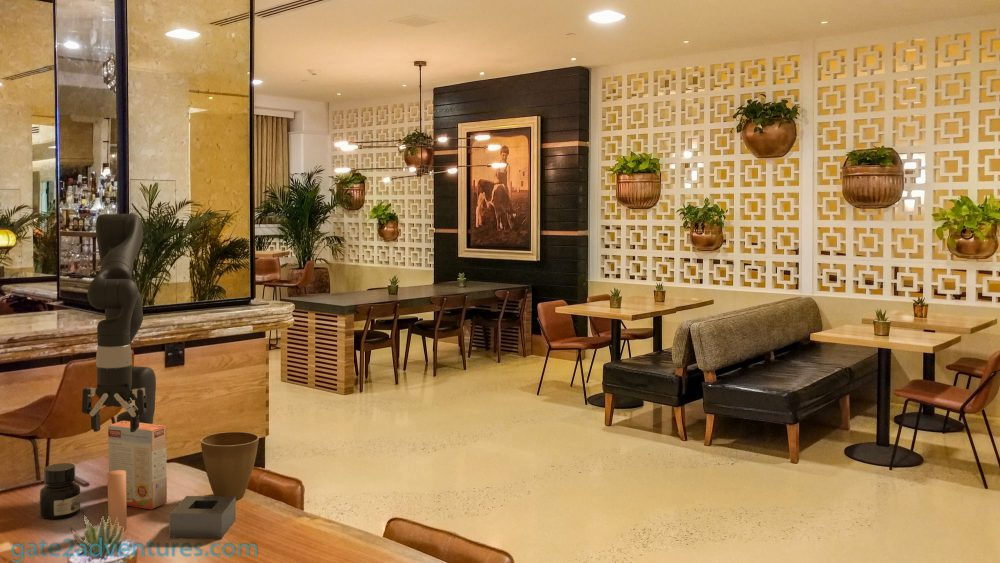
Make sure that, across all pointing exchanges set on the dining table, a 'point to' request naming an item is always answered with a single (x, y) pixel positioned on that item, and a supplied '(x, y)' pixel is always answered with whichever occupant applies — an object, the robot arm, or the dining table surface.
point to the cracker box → (140, 462)
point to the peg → (117, 497)
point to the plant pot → (229, 461)
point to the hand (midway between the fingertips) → (115, 431)
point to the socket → (203, 517)
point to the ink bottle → (59, 492)
